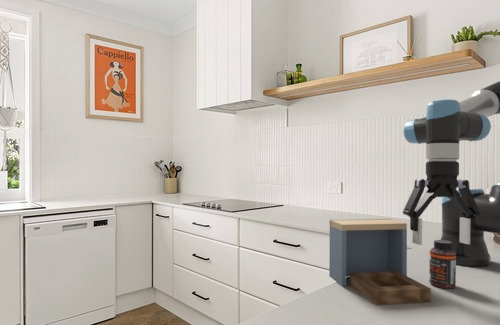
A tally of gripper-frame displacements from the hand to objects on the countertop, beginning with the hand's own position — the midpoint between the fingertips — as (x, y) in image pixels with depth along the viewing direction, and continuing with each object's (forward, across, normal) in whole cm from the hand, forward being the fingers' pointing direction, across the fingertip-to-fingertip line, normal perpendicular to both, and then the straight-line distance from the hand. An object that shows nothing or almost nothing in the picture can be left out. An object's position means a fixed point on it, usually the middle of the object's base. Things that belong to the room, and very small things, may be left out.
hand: (441, 243), depth 89 cm
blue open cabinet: (+11, +16, -7) cm, 21 cm away
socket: (+11, +16, +3) cm, 20 cm away
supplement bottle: (+11, -1, 0) cm, 11 cm away
